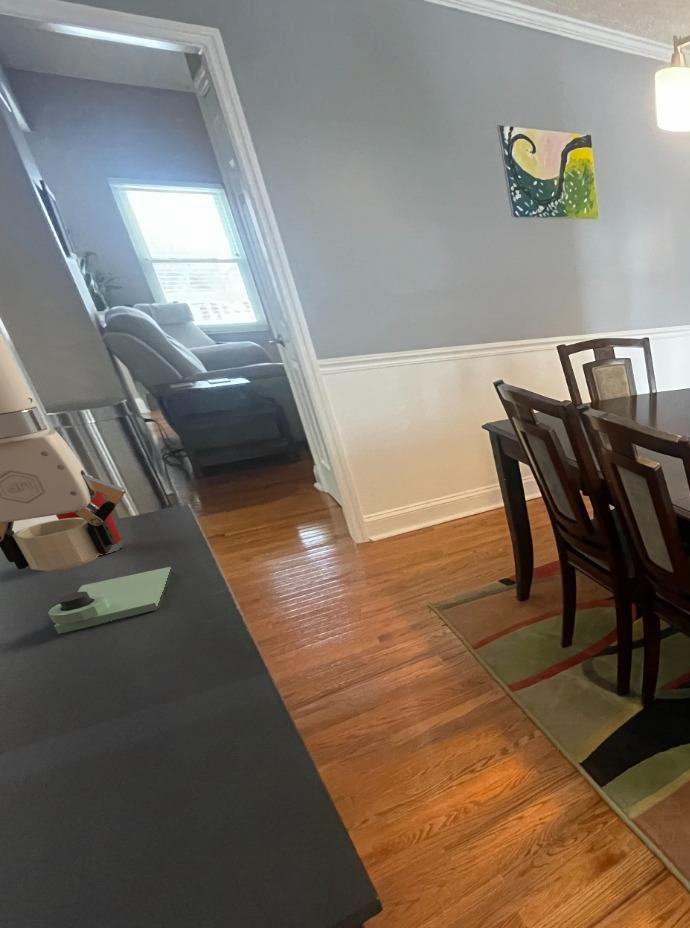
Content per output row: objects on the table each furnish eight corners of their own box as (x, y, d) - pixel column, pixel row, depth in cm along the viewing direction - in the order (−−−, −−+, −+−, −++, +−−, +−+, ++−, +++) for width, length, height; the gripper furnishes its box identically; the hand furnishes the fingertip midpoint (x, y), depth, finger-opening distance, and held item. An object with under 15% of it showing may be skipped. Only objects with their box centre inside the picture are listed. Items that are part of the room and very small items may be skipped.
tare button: (61, 614, 87) (55, 603, 86) (67, 605, 89) (61, 595, 88) (89, 607, 89) (84, 597, 88) (94, 599, 91) (89, 589, 90)
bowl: (23, 578, 75) (3, 543, 73) (41, 558, 81) (23, 525, 78) (98, 564, 79) (80, 530, 77) (110, 546, 84) (95, 513, 82)
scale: (53, 637, 86) (42, 619, 85) (81, 593, 98) (72, 577, 97) (158, 611, 92) (150, 595, 91) (173, 573, 104) (166, 558, 102)
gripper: (-133, 444, 65) (-43, 587, 72) (89, 422, 74) (149, 551, 81) (-97, 430, 71) (-18, 564, 78) (105, 411, 80) (159, 532, 87)
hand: (67, 556), depth 79 cm, fingers closed on bowl, 6 cm apart
